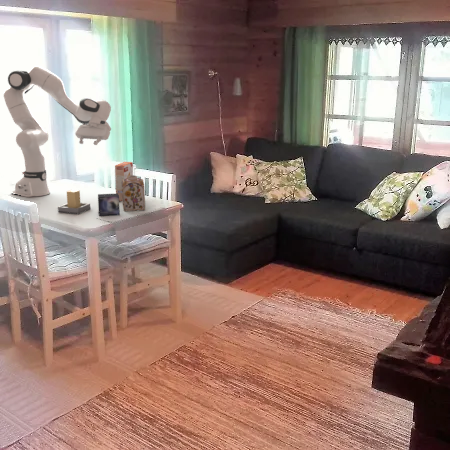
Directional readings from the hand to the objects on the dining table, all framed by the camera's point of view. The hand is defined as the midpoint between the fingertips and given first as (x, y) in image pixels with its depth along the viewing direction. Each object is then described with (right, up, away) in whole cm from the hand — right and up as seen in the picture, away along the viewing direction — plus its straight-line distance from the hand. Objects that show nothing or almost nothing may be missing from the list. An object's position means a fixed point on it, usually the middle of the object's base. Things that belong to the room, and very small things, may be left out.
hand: (87, 143), depth 307 cm
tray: (-3, -39, -18) cm, 42 cm away
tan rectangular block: (-3, -38, -18) cm, 42 cm away
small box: (+17, -41, -24) cm, 50 cm away
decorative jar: (+28, -37, -11) cm, 48 cm away
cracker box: (+20, -31, +10) cm, 38 cm away
